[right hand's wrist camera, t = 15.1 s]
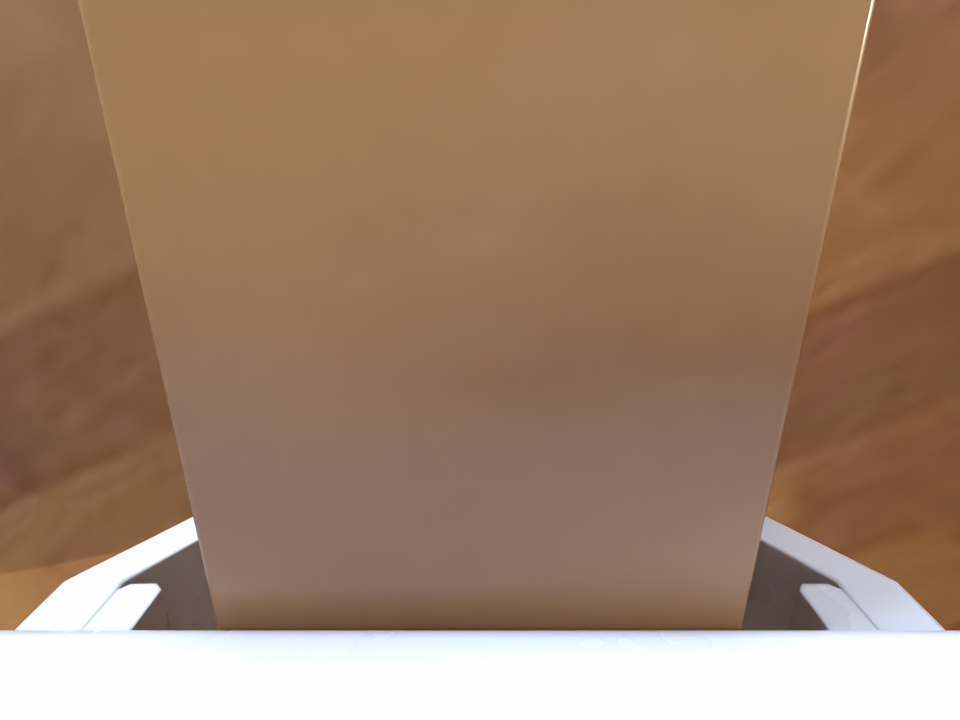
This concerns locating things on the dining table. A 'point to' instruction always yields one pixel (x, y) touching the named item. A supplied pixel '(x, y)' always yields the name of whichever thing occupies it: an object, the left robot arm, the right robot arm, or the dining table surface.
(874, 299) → the dining table surface
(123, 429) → the dining table surface
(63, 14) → the dining table surface
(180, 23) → the box
